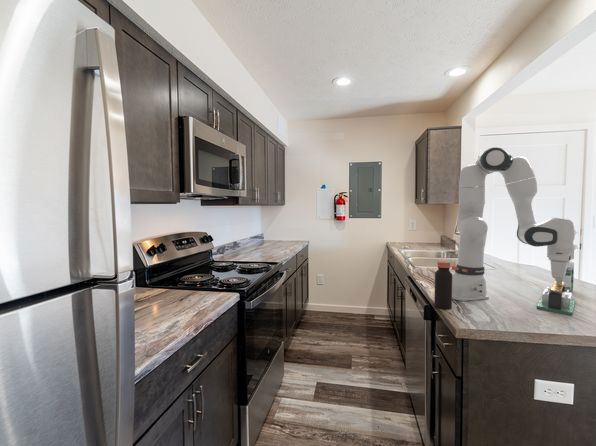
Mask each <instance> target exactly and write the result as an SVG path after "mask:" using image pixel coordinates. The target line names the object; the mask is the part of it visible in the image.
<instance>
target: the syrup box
mask: <svg viewBox="0 0 596 446" xmlns="http://www.w3.org/2000/svg"><path fill="white" fill-rule="evenodd" d="M574 270H575V262H573V261H571V260H570V263H567V271H566V273H565V276H564V279H563V282H564V285H565V291H567V290H569V291H574V279H575V278H574V276H575V275H574V273H575V272H574ZM554 281H556V278H554Z"/></svg>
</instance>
